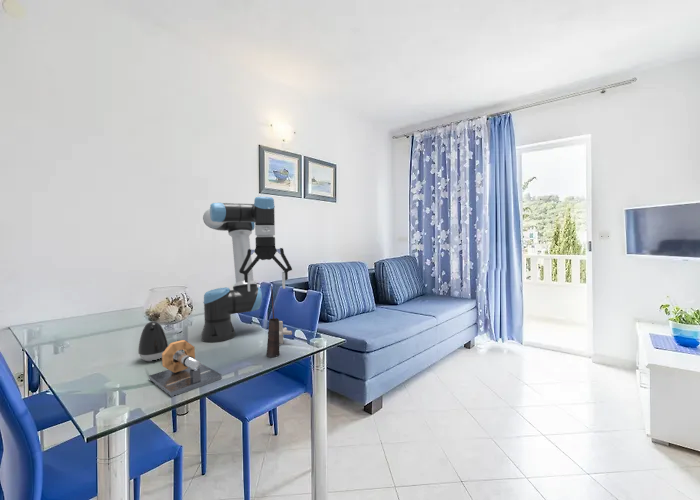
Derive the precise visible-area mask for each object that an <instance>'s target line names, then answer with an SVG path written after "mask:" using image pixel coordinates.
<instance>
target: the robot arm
mask: <svg viewBox="0 0 700 500" xmlns="http://www.w3.org/2000/svg"><path fill="white" fill-rule="evenodd" d="M275 217H276V216H275V199H274V198H273V197H271V196H257V197H256V196H255V198H254V202H253V203H231V202H230V203H228V202H212V203H211V204H210V207H209V209H207V210H205V212H204V213H203V216H202V220H203V223H204V224H205V225H206V226H207V227H208V228H209V229H213V230H215V231H222V232H223V231H226V232H227V231H228V232H227V233H228V235H229V236H230V237H231V242H232V254H233V264H234V276H235V283H234V285H233V286H232V289H230V287H218V288H213V289H211V290H208V291H206V292H204V295H203V301H202V302H203V307H204V308H203V312H204V316H203V317H204V325H203V328H202V332H201V334H200V338H201V339H200V340H201V341H203V342H205V343H218V342H224V341H227V340H230V339H233V338H235V336H236V330H235V328H234V325H233V323H232V320H231V317H232V316H231V315H234V314H242V313H251V312H255V311H258V310H259V309H260V308H261V305H262V299H263V294H262V287H259V286H258V283H256V282H255V281H254V271H253V268H254V267H255V266H256V264H257V263H258V262H259V261H260V260H261V261H265V260H267V261H270V260H273V261H274V262H275V263H276V265H278V266H279V268H280V269H281V270H282V272H281V279H282V280H281V282H282V283H281V284H282V289H286V281H287V280H288V279H289V277H288V272H290V271H293V267H292V266H291V264H290V262H289V260H288V258H287V257H286V254H285V252H284V248H283V247H280V248H276V237H275V235H276V222H275ZM254 230H255V231H254ZM253 231H254V232H255V234H254V235H255V249H253V248H252V249H251V241H250V236H251V235H252V233H253ZM254 253H255V255H256V257H255V258H254V259H253V261H252V255H253V254H254ZM276 254H279V255H280V257H281V259H282V260H283V262H284V264H285V265H283V264H282V262H281V261H280V260H279V259H278V258H277V257H276ZM286 267H287V268H286Z"/></svg>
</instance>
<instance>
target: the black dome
mask: <svg viewBox="0 0 700 500" xmlns="http://www.w3.org/2000/svg"><path fill="white" fill-rule="evenodd" d="M168 343H169V342H168V338H167V336H166V333H165V331H164V328H163V327H162V325H161V324H160V323H159V322H158V321H154V320H153V321H148V323H146V324H145V325H144V327H143V329H142V330H141V334H140V338H139V342H138V349H137V350H138V351H137V352H138V354H139V357H140V358H141V360H143V361H144V362H153V361H152V360H156V359H159V360H161V359H162V353H163V352H164V351H165V349H166V348H167V347H168V346H169V344H168ZM160 358H161V359H160ZM156 361H157V360H156Z"/></svg>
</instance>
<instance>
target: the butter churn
mask: <svg viewBox="0 0 700 500" xmlns="http://www.w3.org/2000/svg"><path fill="white" fill-rule="evenodd" d="M270 293H271V304H272V305H271V307H272V308H271V309H272V318H269V321H268V332H267V343H266V346H267V347H266V356H267V358H275V357H278V356H279V355H280V345H281V344H280V343H279V321H280V319H279V318H277V317H275V312H274V311H275V309H274V296H273V294H274V292H273V286H272V285H271V286H270Z"/></svg>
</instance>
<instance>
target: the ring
mask: <svg viewBox="0 0 700 500" xmlns="http://www.w3.org/2000/svg"><path fill="white" fill-rule="evenodd" d="M195 349H196V348H195V346H194V345H192V344H191V343H190V342H188V341H186V340H185V339H181V340H177V341H173V342H170V343H169V344H168V347H167V348H166V349H165V351H164V352H163V353H162V358H161V362H162V367H163V368H166V370H170V371H172V372H174V373H176V372H179V371H182V370H185V369H187V368H188V367H186V366H184V365H183V364H182V363H180V362H176V363H175V362H173V355H174V354H175V353H176V352H177V351H181V350H182V351H184V354H186V355H188V356H192V357H193V358H194V359H196V351H195Z"/></svg>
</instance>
